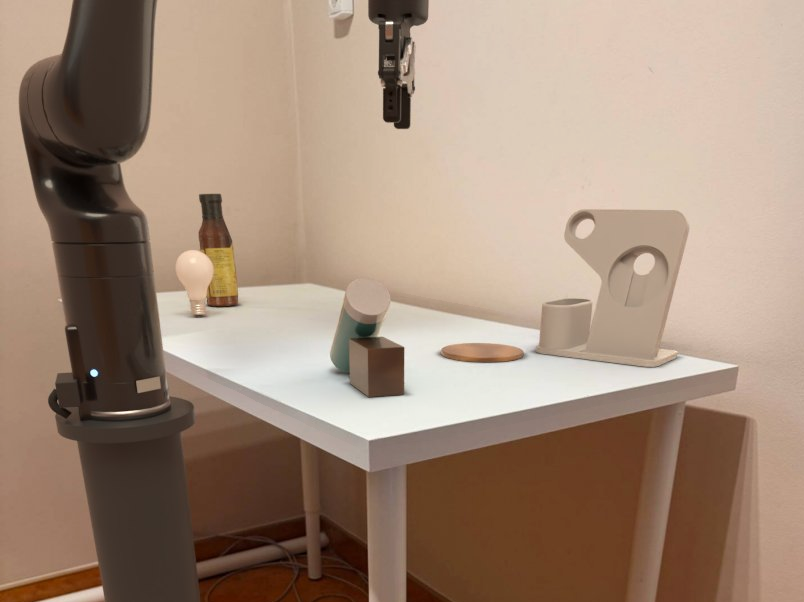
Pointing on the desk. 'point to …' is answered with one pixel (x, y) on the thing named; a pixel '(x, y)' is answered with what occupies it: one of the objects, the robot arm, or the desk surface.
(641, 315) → the phone holder
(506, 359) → the cork coaster
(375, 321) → the salt shaker
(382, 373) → the walnut block
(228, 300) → the sauce bottle
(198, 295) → the lightbulb
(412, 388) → the desk surface
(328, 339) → the desk surface
